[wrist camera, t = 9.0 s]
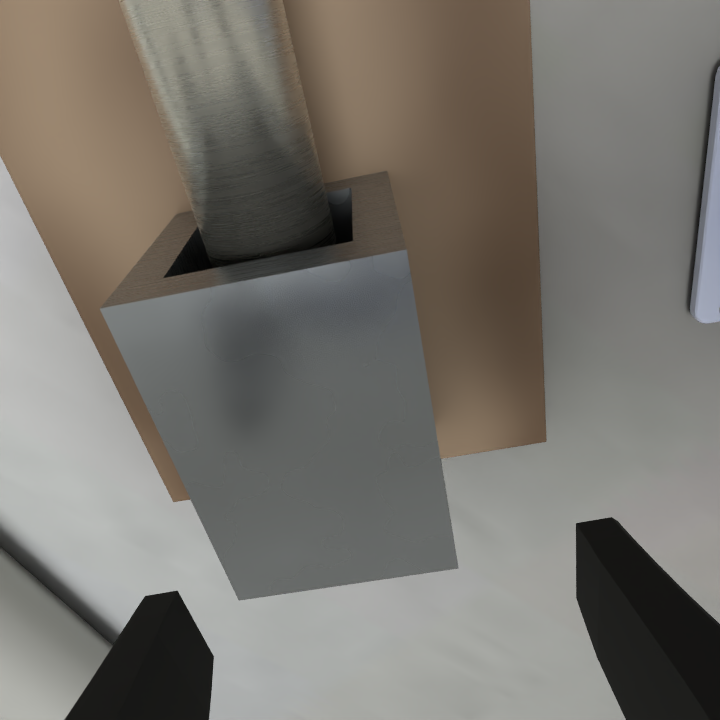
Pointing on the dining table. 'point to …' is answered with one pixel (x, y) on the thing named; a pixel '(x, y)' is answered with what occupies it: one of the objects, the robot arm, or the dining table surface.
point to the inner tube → (235, 123)
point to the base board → (337, 162)
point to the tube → (41, 648)
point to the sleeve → (294, 399)
